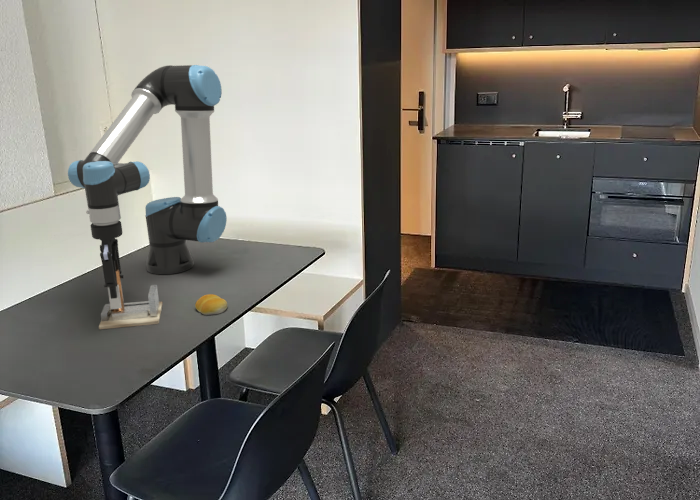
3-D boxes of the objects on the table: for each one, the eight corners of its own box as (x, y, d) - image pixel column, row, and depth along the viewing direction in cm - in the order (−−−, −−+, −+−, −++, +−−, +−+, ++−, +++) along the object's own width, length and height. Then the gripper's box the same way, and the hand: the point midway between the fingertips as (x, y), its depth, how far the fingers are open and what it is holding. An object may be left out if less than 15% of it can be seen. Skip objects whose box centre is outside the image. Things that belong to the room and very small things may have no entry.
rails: (106, 310, 177) (105, 304, 177) (150, 306, 179) (149, 300, 179) (101, 321, 170) (100, 314, 170) (147, 317, 172) (146, 310, 172)
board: (107, 309, 180) (107, 306, 180) (162, 304, 183) (162, 301, 183) (99, 329, 167) (98, 326, 167) (158, 323, 170) (158, 321, 170)
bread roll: (207, 318, 173) (206, 305, 172) (191, 309, 180) (190, 296, 179) (233, 310, 178) (232, 297, 177) (217, 301, 185) (216, 288, 184)
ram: (114, 308, 178) (108, 267, 174) (159, 304, 180) (154, 263, 176) (109, 320, 170) (103, 277, 167) (156, 315, 172) (151, 273, 169)
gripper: (95, 215, 173) (107, 295, 181) (84, 231, 158) (97, 318, 165) (124, 213, 175) (135, 293, 182) (116, 229, 159) (127, 316, 167)
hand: (117, 305), depth 174 cm, fingers closed on ram, 3 cm apart
